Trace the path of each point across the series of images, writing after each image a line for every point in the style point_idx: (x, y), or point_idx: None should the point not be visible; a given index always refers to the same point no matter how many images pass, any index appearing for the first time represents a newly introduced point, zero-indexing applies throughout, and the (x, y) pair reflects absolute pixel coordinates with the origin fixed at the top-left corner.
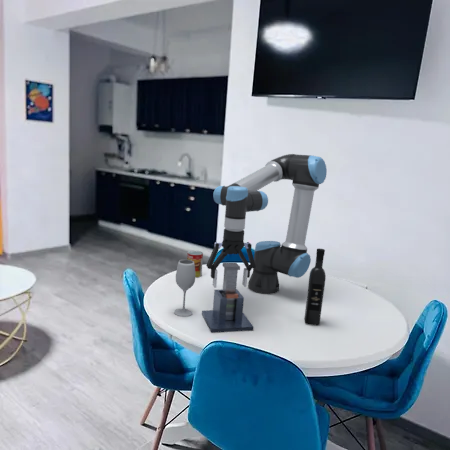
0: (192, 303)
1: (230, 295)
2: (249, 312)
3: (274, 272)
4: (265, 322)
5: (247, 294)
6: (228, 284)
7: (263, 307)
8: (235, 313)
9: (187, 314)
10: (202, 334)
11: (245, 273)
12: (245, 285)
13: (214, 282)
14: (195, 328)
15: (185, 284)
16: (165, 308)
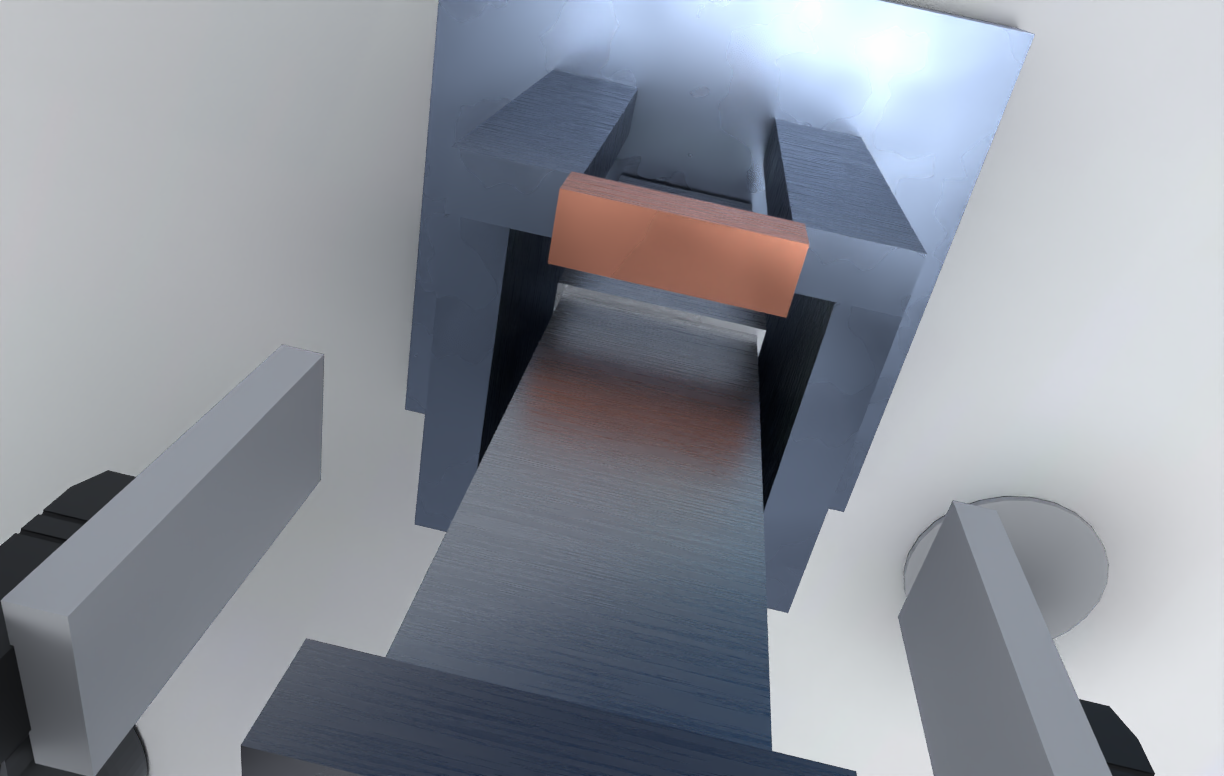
0: (796, 701)
1: (731, 223)
2: None
3: None
4: (225, 73)
5: (197, 683)
6: (704, 451)
7: (127, 411)
8: (617, 143)
9: (1006, 518)
10: (1149, 26)
11: (145, 560)
12: (292, 365)
13: (1023, 597)
14: (1122, 209)
15: None
16: (1112, 701)
